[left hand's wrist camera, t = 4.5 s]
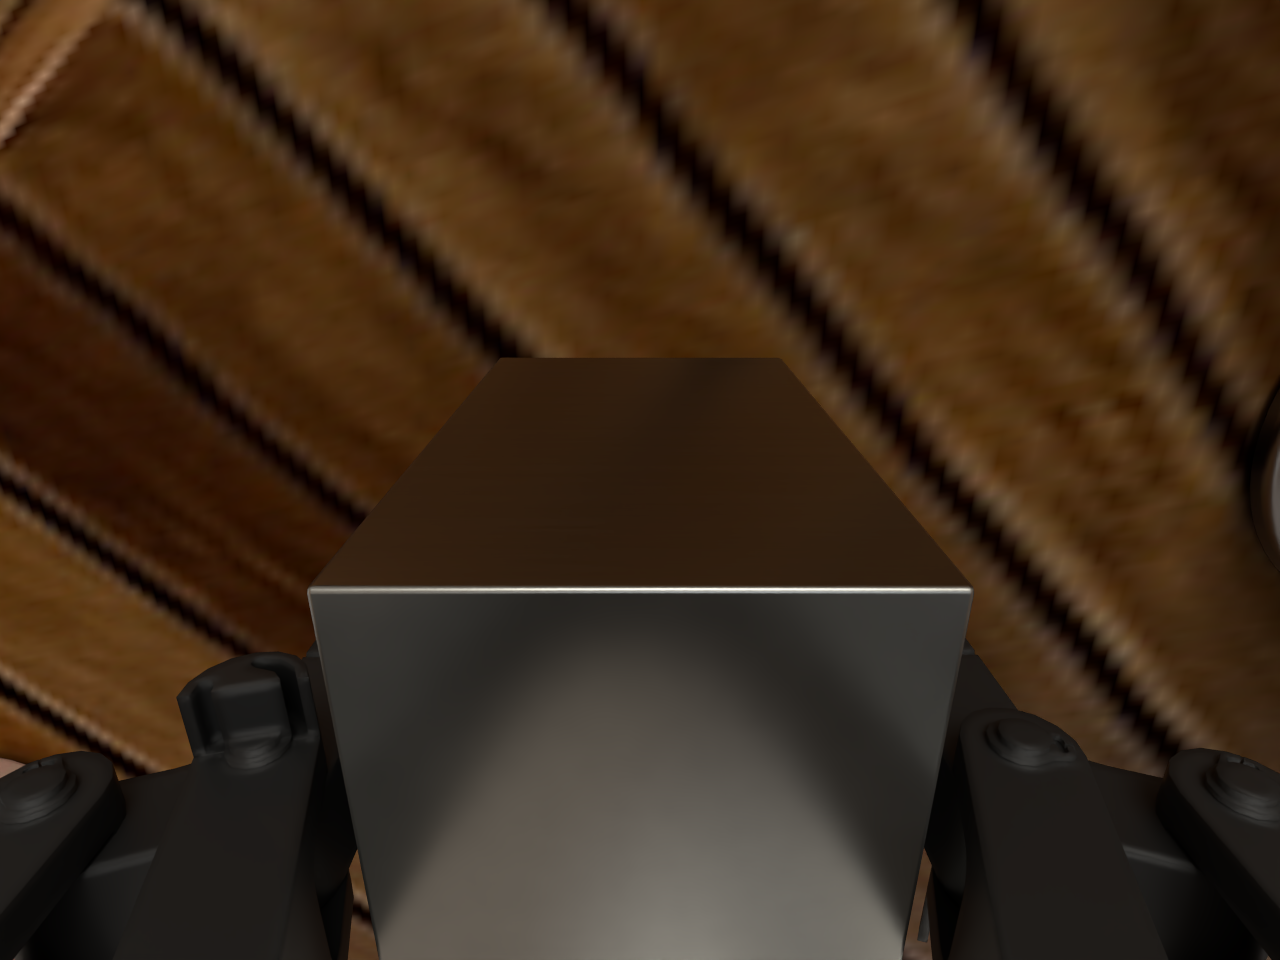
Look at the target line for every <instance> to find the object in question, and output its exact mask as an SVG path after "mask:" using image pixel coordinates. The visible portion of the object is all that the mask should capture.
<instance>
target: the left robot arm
mask: <svg viewBox="0 0 1280 960" xmlns="http://www.w3.org/2000/svg"><path fill="white" fill-rule="evenodd" d="M1250 505H1251V511H1252V517H1253V522H1254V526H1255V529H1256V532H1257V536H1258V538H1259V540H1260V543H1261V545H1262V547H1263V549H1264V551H1265V553H1266V554H1267V556H1268V557H1269V559H1270V560H1271V562H1272V564H1273V565H1274V566H1275V567H1276V568H1277V569H1278V570H1279V572H1280V388H1279V390H1278V392H1277V394H1276V396H1275V398H1274V400H1273V402H1272V404H1271V406H1270V408H1269V410H1268V413H1267V415H1266V418H1265V420H1264V423H1263V425H1262V428H1261V430H1260V434H1259V437H1258V441H1257V444H1256V448H1255V452H1254V457H1253V463H1252V468H1251V479H1250ZM176 698H177V701H178V705H179V708H180V712H181V715H182V718H183V722H184V725H185V729H186V732H187V736H188V739H189V742H190V746H191V749H192V753H193V756H194V759H193V761H192V763H191V764H189V765H185V766H182V767H179V768H175V769H171V770H166V771H162V772H157V773H153V774H148V775H144V776H139V777H135V778H130V779H126V780H121V781H118V778H117V775H116V772H115V769H114V766H113V764H112V762H111V761H110V760H108V759H107V758H106V757H105V756H103V755H102V754H100V753H93V752H85V751H77V752H70V753H63V754H56V755H53V756H50V757H46V758H43V759H41V760H37V761H34V762H31V763H29V764H26V765H24V766H22V767H20V768H18V769H17V770H15V771H13V772H11V773H9V774H7V775H5V776H3V777H1V778H0V960H13V959H15V960H348V950H349V940H350V930H351V919H352V909H353V899H354V896H353V889H352V883H351V877H350V873H349V867H350V865H351V862H352V860H353V858H354V855H355V853H356V851H357V844H356V839H355V834H354V828H353V823H352V818H351V813H350V808H349V803H348V798H347V793H346V788H345V783H344V778H343V772H342V767H341V762H340V757H339V752H338V747H337V742H336V737H335V732H334V727H333V722H332V716H331V711H330V706H329V701H328V696H327V691H326V686H325V681H324V676H323V671H322V666H321V660H320V655H319V650H318V645H317V640H316V641H315V642H314V643H313V645H312V646H311V647H310V649H309V650H308V652H307V656H306V657H303V659H302V660H301V659H300V658H298V657H297V656H295V655H291V654H287V653H282V652H260V653H253V654H248V655H244V656H240V657H236V658H232V659H229V660H227V661H225V662H222V663H220V664H218V665H216V666H213V667H211V668H209V669H207V670H205V671H204V672H203V673H201V674H200V675H198V676H197V677H195V678H194V679H193V680H191V681H190V682H188V683H187V685H186V686H185V687H184V688H183V690H182V691H181V692H180V693H179V695H178V696H177V697H176ZM924 848H925V850H926V853H927V855H928V857H929V860H930V862H931V864H932V868H931V873H930V877H929V882H928V887H927V892H926V897H925V902H924V907H923V911H922V916H921V921H920V927H919V933H918V940H919V941H923V942H927V940H928V935H929V931H930V938H931V948H932V959H933V960H1266V959H1267V957H1268V956H1269V957H1270V958H1271V959H1272V960H1280V774H1279V773H1277V772H1275V771H1273V770H1271V769H1269V768H1267V767H1265V766H1263V765H1262V764H1260V763H1258V762H1256V761H1253V760H1251V759H1248V758H1245V757H1241V756H1239V755H1235V754H1232V753H1229V752H1225V751H1218V750H1211V749H1204V748H1197V749H1189V750H1182V751H1180V752H1178V753H1177V754H1176V755H1175V756H1173V757H1172V758H1171V759H1170V760H1169V763H1168V765H1167V768H1166V771H1165V774H1164V777H1163V778H1160V777H1155V776H1151V775H1146V774H1142V773H1137V772H1132V771H1128V770H1123V769H1119V768H1114V767H1110V766H1106V765H1102V764H1099V763H1095V762H1092V761H1088V760H1087V757H1086V756H1085V754H1084V753H1083V751H1082V750H1081V748H1080V747H1079V745H1078V744H1077V742H1076V741H1075V740H1074V739H1073V738H1071V737H1070V736H1069V735H1068V734H1066V733H1065V732H1064V731H1063V730H1061V729H1060V728H1059V727H1058V726H1056V725H1054V724H1052V723H1050V722H1048V721H1046V720H1044V719H1042V718H1040V717H1038V716H1036V715H1033V714H1029V713H1026V712H1022V711H1018V710H1017V708H1016V707H1015V706H1014V704H1013V703H1012V701H1011V700H1010V699H1009V697H1008V696H1007V695H1006V693H1005V692H1004V690H1003V689H1002V688H1001V686H1000V685H999V684H998V682H997V681H996V679H995V678H994V677H993V675H992V674H991V673H990V671H989V670H988V668H987V667H986V666H985V664H984V663H983V662H982V660H981V659H980V657H979V656H978V655H975V653H974V649H973V648H972V646H971V645H970V644H969V642H968V641H967V640H966V638H965V641H964V646H963V651H962V656H961V661H960V666H959V672H958V677H957V682H956V687H955V692H954V697H953V702H952V707H951V712H950V717H949V722H948V727H947V732H946V737H945V743H944V748H943V753H942V758H941V763H940V768H939V773H938V778H937V783H936V788H935V793H934V798H933V803H932V808H931V813H930V819H929V824H928V829H927V834H926V839H925V844H924Z"/></svg>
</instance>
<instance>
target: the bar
mask: <svg viewBox="0 0 1280 960" xmlns="http://www.w3.org/2000/svg"><path fill="white" fill-rule="evenodd" d="M307 594H308V599H309V604H310V610H311V615H312V620H313V625H314V630H315V635H316V640H317V645H318V650H319V655H320V660H321V666H322V671H323V676H324V681H325V686H326V691H327V696H328V701H329V706H330V711H331V716H332V722H333V727H334V732H335V737H336V742H337V747H338V752H339V757H340V762H341V767H342V772H343V778H344V783H345V788H346V793H347V798H348V803H349V808H350V813H351V818H352V823H353V828H354V834H355V839H356V844H357V849H358V854H359V859H360V864H361V869H362V874H363V879H364V884H365V890H366V895H367V900H368V905H369V910H370V915H371V920H372V925H373V930H374V935H375V940H376V946H377V951H378V956H379V960H902V955H903V950H904V945H905V940H906V935H907V930H908V925H909V920H910V915H911V910H912V905H913V900H914V895H915V890H916V884H917V879H918V874H919V869H920V864H921V859H922V854H923V849H924V844H925V839H926V834H927V829H928V824H929V819H930V813H931V808H932V803H933V798H934V793H935V788H936V783H937V778H938V773H939V768H940V763H941V758H942V753H943V748H944V743H945V737H946V732H947V727H948V722H949V717H950V712H951V707H952V702H953V697H954V692H955V687H956V682H957V677H958V672H959V666H960V661H961V656H962V651H963V646H964V641H965V636H966V631H967V626H968V621H969V616H970V611H971V606H972V601H973V595H974V590H973V586H972V585H971V584H970V583H969V582H968V580H967V579H966V578H965V577H964V576H963V574H962V573H961V572H960V571H959V570H958V569H957V567H956V566H955V565H954V564H953V563H952V561H951V560H950V559H949V558H948V557H947V555H946V554H945V553H944V552H943V551H942V550H941V548H940V547H939V546H938V545H937V544H936V542H935V541H934V540H933V539H932V538H931V536H930V535H929V534H928V533H927V532H926V531H925V529H924V528H923V527H922V526H921V525H920V523H919V522H918V521H917V520H916V519H915V517H914V516H913V515H912V514H911V513H910V512H909V510H908V509H907V508H906V507H905V506H904V504H903V503H902V502H901V501H900V500H899V498H898V497H897V496H896V495H895V494H894V493H893V491H892V490H891V489H890V488H889V487H888V485H887V484H886V483H885V482H884V481H883V479H882V478H881V477H880V476H879V475H878V474H877V472H876V471H875V470H874V469H873V468H872V466H871V465H870V464H869V463H868V462H867V460H866V459H865V458H864V457H863V456H862V455H861V453H860V452H859V451H858V450H857V449H856V447H855V446H854V445H853V444H852V443H851V441H850V440H849V439H848V438H847V437H846V436H845V434H844V433H843V432H842V431H841V430H840V428H839V427H838V426H837V425H836V424H835V422H834V421H833V420H832V419H831V418H830V417H829V415H828V414H827V413H826V412H825V411H824V409H823V408H822V407H821V406H820V405H819V403H818V402H817V401H816V400H815V399H814V398H813V396H812V395H811V394H810V393H809V392H808V390H807V389H806V388H805V387H804V386H803V384H802V383H801V382H800V381H799V380H798V379H797V377H796V376H795V375H794V374H793V373H792V371H791V370H790V369H789V368H788V367H787V365H786V364H785V363H784V362H783V361H782V360H781V359H780V358H501V359H499V360H498V361H497V363H496V364H495V365H494V366H493V367H492V369H491V370H490V371H489V372H488V373H487V375H486V376H485V377H484V378H483V379H482V381H481V382H480V383H479V384H478V385H477V386H476V388H475V389H474V390H473V391H472V392H471V394H470V395H469V396H468V397H467V398H466V400H465V401H464V402H463V403H462V404H461V406H460V407H459V408H458V409H457V410H456V411H455V413H454V414H453V415H452V416H451V417H450V419H449V420H448V421H447V422H446V423H445V425H444V426H443V427H442V428H441V429H440V431H439V432H438V433H437V434H436V435H435V436H434V438H433V439H432V440H431V441H430V442H429V444H428V445H427V446H426V447H425V448H424V450H423V451H422V452H421V453H420V454H419V456H418V457H417V458H416V459H415V460H414V461H413V463H412V464H411V465H410V466H409V467H408V469H407V470H406V471H405V472H404V473H403V475H402V476H401V477H400V478H399V479H398V481H397V482H396V483H395V484H394V485H393V486H392V488H391V489H390V490H389V491H388V492H387V494H386V495H385V496H384V497H383V498H382V500H381V501H380V502H379V503H378V504H377V506H376V507H375V508H374V509H373V510H372V511H371V513H370V514H369V515H368V516H367V517H366V519H365V520H364V521H363V522H362V523H361V525H360V526H359V527H358V528H357V529H356V531H355V532H354V533H353V534H352V535H351V536H350V538H349V539H348V540H347V541H346V542H345V544H344V545H343V546H342V547H341V548H340V550H339V551H338V552H337V553H336V554H335V556H334V557H333V558H332V559H331V560H330V561H329V563H328V564H327V565H326V566H325V567H324V569H323V570H322V571H321V572H320V573H319V575H318V576H317V577H316V578H315V579H314V581H313V582H312V583H311V584H310V585H309V587H308V590H307Z"/></svg>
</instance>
